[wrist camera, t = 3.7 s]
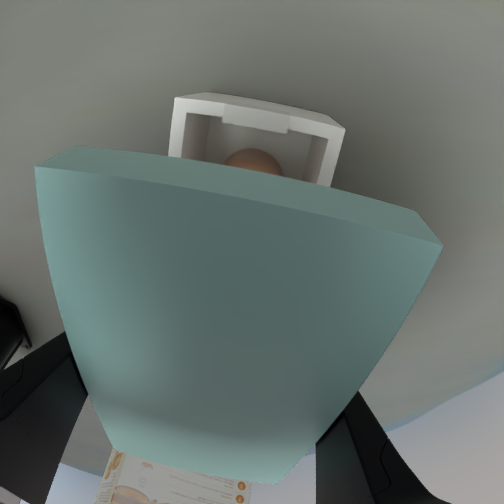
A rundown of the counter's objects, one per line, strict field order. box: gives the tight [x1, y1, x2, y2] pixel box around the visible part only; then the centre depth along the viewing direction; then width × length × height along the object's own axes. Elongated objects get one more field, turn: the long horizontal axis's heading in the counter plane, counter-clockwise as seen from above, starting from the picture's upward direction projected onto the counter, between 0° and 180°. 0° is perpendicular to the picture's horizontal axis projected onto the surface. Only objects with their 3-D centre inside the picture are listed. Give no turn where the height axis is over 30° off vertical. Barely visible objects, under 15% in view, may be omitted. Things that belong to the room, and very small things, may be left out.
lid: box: [35, 146, 444, 484], centre depth 8 cm, size 12×7×2 cm, turn 170°
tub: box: [168, 92, 346, 187], centre depth 15 cm, size 14×6×6 cm, turn 170°
